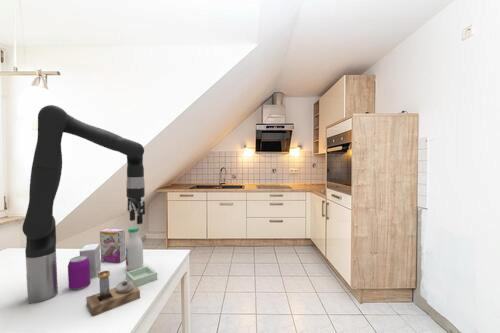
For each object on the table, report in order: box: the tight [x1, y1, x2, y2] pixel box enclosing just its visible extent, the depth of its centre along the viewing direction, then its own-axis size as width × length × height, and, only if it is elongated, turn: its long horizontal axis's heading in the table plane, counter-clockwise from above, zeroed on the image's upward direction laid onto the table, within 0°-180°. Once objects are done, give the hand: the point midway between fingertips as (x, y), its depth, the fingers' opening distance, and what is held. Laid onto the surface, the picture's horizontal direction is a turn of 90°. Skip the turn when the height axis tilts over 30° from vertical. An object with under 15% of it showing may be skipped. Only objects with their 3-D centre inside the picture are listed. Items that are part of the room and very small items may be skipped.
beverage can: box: [67, 255, 91, 291], centre depth 108 cm, size 8×8×12 cm
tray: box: [125, 265, 158, 288], centre depth 113 cm, size 10×10×3 cm
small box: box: [79, 243, 102, 279], centre depth 118 cm, size 8×6×13 cm
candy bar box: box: [99, 228, 126, 264], centre depth 133 cm, size 11×5×16 cm, turn 82°
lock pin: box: [97, 270, 111, 301], centre depth 94 cm, size 4×4×12 cm
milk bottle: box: [125, 226, 144, 272], centre depth 124 cm, size 8×8×20 cm
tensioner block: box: [86, 280, 141, 317], centre depth 96 cm, size 16×9×6 cm, turn 134°
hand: (136, 222), depth 116 cm, fingers open, 8 cm apart
